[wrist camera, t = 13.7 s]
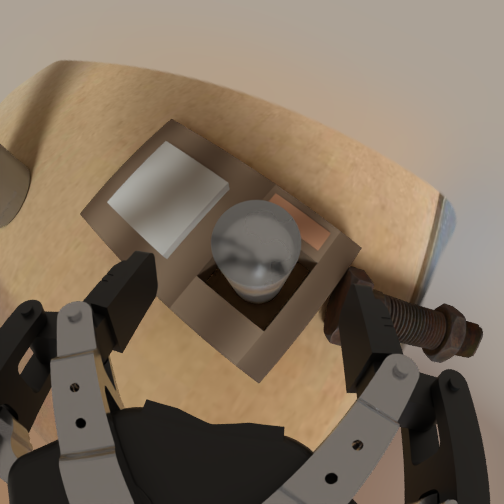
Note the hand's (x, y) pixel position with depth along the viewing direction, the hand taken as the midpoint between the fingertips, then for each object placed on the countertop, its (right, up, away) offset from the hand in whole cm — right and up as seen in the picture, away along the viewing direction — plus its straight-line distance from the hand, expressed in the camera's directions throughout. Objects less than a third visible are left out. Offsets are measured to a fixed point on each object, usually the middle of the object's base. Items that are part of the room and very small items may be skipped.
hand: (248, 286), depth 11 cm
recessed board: (-3, +2, +12) cm, 13 cm away
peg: (+1, -1, +11) cm, 11 cm away
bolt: (+13, -5, +10) cm, 17 cm away
